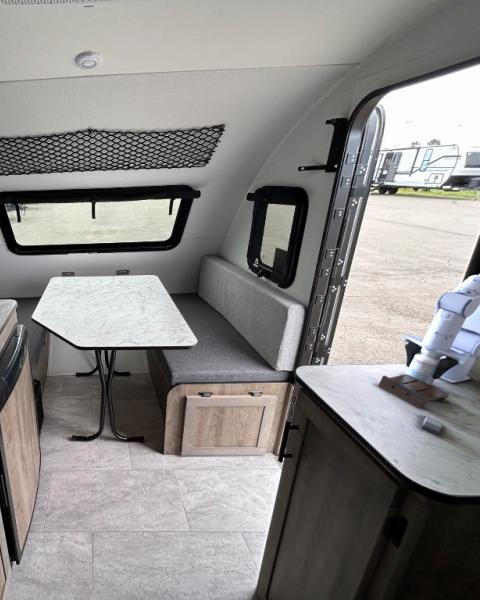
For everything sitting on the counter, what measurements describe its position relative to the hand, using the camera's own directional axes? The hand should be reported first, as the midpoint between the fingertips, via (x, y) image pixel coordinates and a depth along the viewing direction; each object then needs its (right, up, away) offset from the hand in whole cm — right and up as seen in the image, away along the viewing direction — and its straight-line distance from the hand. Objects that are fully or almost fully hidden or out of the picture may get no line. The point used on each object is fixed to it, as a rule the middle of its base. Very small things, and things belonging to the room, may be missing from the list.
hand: (421, 372), depth 99 cm
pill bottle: (0, -3, +1) cm, 4 cm away
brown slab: (-9, -5, -5) cm, 11 cm away
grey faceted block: (-17, -10, -18) cm, 26 cm away
